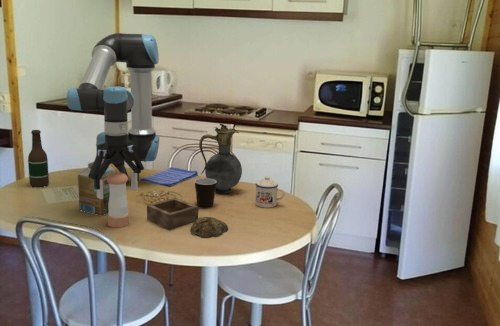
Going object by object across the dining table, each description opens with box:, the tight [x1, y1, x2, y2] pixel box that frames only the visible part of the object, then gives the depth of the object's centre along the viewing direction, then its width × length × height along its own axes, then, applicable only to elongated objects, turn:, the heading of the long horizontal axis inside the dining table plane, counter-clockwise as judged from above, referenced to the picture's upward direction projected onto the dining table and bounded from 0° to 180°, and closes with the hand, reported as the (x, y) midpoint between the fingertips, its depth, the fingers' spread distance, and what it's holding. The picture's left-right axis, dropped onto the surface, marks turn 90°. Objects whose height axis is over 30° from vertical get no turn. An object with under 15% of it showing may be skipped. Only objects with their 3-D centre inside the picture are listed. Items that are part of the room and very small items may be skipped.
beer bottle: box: [27, 129, 50, 188], centre depth 203 cm, size 8×8×24 cm
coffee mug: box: [194, 177, 217, 209], centre depth 191 cm, size 12×9×10 cm
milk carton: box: [77, 159, 118, 217], centre depth 180 cm, size 11×11×19 cm
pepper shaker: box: [107, 171, 130, 228], centre depth 167 cm, size 7×7×19 cm
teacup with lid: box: [254, 175, 286, 209], centre depth 194 cm, size 12×9×12 cm
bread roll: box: [189, 216, 229, 239], centre depth 166 cm, size 13×12×5 cm
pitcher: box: [198, 123, 243, 195], centre depth 206 cm, size 11×19×30 cm, turn 76°
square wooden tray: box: [146, 197, 199, 231], centre depth 173 cm, size 13×13×6 cm
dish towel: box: [139, 166, 199, 188], centre depth 225 cm, size 17×24×3 cm
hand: (117, 194), depth 166 cm, fingers open, 13 cm apart
